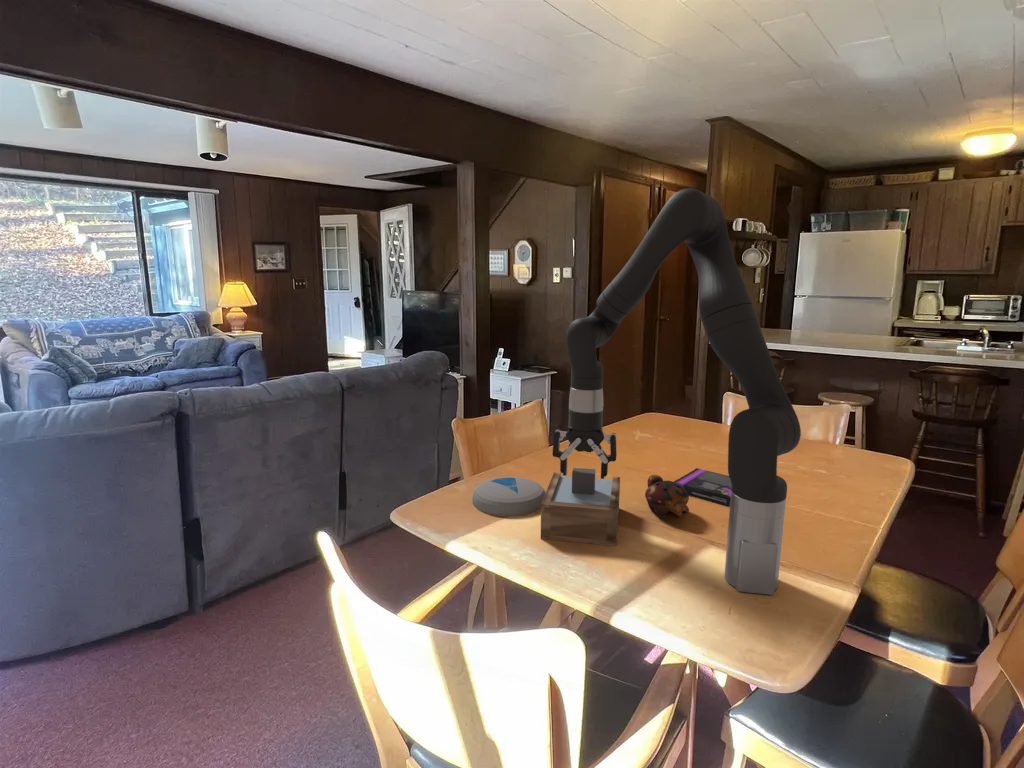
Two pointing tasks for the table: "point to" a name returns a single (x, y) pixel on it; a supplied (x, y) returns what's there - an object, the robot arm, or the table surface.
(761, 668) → the table surface
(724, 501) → the box
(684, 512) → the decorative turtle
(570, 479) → the lid
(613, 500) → the walnut box
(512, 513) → the grey thick disc
